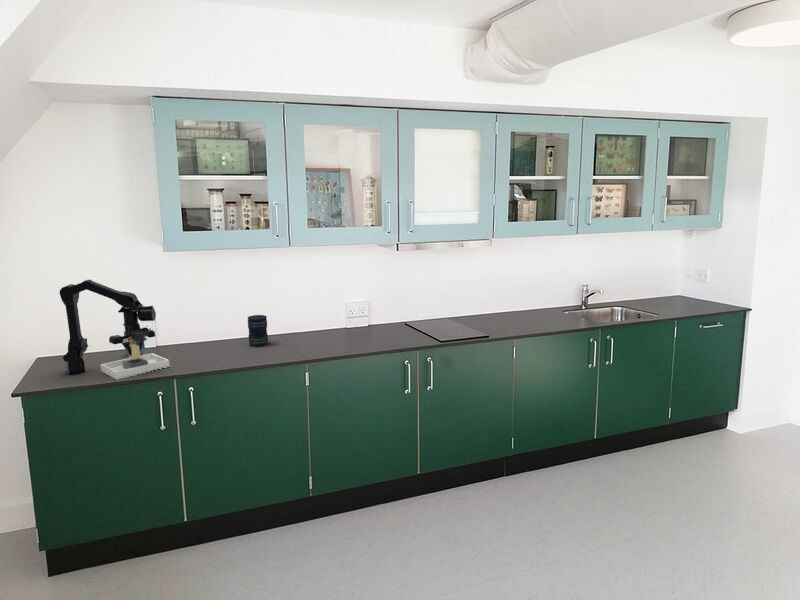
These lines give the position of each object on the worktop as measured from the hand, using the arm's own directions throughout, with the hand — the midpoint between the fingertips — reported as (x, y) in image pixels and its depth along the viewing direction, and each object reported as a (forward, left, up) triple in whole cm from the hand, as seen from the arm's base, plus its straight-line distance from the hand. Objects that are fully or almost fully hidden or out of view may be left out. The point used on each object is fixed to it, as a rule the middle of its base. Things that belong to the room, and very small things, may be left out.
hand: (134, 354), depth 275 cm
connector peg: (0, 0, -2) cm, 2 cm away
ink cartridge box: (+10, +23, -7) cm, 26 cm away
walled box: (0, 0, -7) cm, 7 cm away
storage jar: (+62, -6, -7) cm, 63 cm away
